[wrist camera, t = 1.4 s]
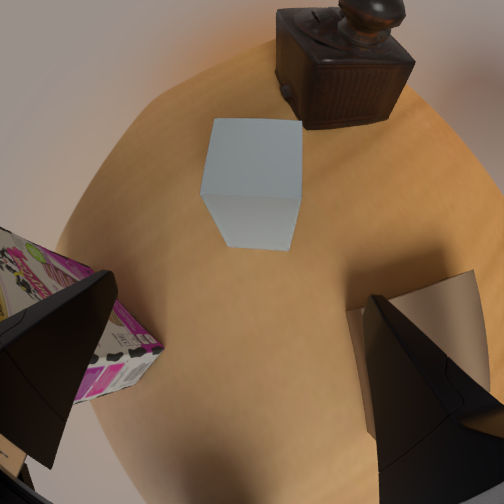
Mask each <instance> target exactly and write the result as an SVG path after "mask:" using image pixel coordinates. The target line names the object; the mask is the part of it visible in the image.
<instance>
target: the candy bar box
mask: <svg viewBox="0 0 504 504" xmlns="http://www.w3.org/2000/svg"><path fill="white" fill-rule="evenodd" d="M92 274H94V272H93V270H92V269H91V268H90V267H89V266H86V265H84V264H81V263H79V262H77V261H74V260H72V259H70V258H67V257H65V256H62V255H60V254H57V253H55V252H52V251H50V250H48V249H46V248H44V247H41V246H39V245H37V244H35V243H32V242H30V241H28V240H26V239H24V238H22V237H20V236H18V235H16V234H14V233H12V232H10V231H8V230H5V229H3V228H2V227H0V321H2V320H4V319H6V318H8V317H10V316H12V315H14V314H16V313H18V312H20V311H22V310H23V309H25V308H28V307H29V306H31V305H33V304H35V303H37V302H39V301H40V300H42V299H44V298H46V297H48V296H50V295H52V294H54V293H56V292H58V291H60V290H62V289H64V288H66V287H68V286H70V285H72V284H74V283H76V282H78V281H80V280H82V279H84V278H86V277H88V276H90V275H92ZM164 349H165V348H164V347H163V346H162V345H161V344H160V343H159V342H158V341H157V340H156V339H155V338H154V337H153V336H152V335H151V334H150V333H149V332H148V331H147V330H146V329H145V328H144V327H143V326H142V325H141V324H140V323H139V322H138V321H137V320H136V319H135V318H134V317H133V316H132V315H131V314H130V313H129V312H128V311H127V310H126V308H125V307H124V306H123V305H122V304H121V303H120V302H119V301H118V300H117V299H116V301H115V304H114V306H113V309H112V312H111V314H110V317H109V320H108V323H107V325H106V328H105V330H104V332H103V335H102V337H101V339H100V341H99V343H98V345H97V348H96V350H95V352H94V354H93V357H92V359H91V361H90V363H89V366H88V368H87V370H86V373H85V375H84V378H83V380H82V382H81V385H80V387H79V390H78V392H77V395H76V397H75V400H74V403H73V405H74V404H77V403H80V402H84V401H87V400H91V399H94V398H97V397H100V396H104V395H107V394H110V393H112V392H116V391H118V390H121V389H124V388H127V387H130V386H132V385H135V384H136V383H137V382H138V380H139V379H140V378H141V377H142V376H143V374H144V373H145V372H146V370H147V369H148V368H149V367H150V366H151V365H152V363H153V362H154V361H155V360H156V359H157V358H158V357H159V355H160V354H161V353H162V351H163V350H164Z"/></svg>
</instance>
